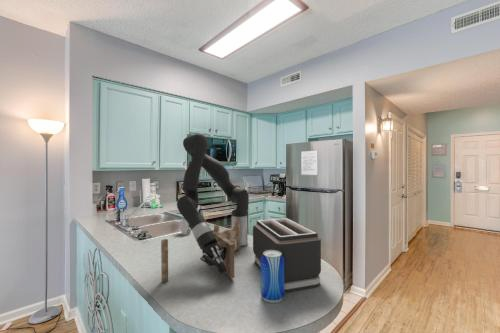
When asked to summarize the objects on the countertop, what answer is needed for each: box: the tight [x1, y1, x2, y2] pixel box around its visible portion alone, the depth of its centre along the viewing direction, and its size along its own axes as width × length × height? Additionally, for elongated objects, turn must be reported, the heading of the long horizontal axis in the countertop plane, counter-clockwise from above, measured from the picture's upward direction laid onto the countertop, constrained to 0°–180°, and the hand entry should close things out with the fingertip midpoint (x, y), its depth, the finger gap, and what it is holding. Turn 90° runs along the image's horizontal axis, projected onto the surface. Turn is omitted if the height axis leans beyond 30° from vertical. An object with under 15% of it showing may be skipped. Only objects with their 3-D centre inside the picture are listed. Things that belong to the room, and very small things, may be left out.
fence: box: [160, 219, 241, 284], centre depth 114 cm, size 47×3×17 cm, turn 141°
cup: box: [179, 218, 192, 236], centre depth 163 cm, size 8×8×10 cm
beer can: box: [260, 250, 285, 304], centre depth 85 cm, size 8×8×16 cm
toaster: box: [252, 217, 322, 293], centre depth 106 cm, size 19×35×20 cm, turn 17°
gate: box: [211, 229, 235, 279], centre depth 108 cm, size 24×2×14 cm, turn 30°
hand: (224, 272), depth 93 cm, fingers closed
